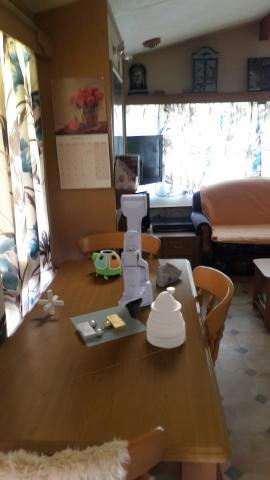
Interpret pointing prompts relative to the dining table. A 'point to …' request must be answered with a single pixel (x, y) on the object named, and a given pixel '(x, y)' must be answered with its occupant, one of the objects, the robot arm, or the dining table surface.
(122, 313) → the mat
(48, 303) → the pipe connector
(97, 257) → the turtle holder
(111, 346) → the dining table surface
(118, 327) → the tan knobbed block
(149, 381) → the dining table surface
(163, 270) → the mineral rock
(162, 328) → the honey pot
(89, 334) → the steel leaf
